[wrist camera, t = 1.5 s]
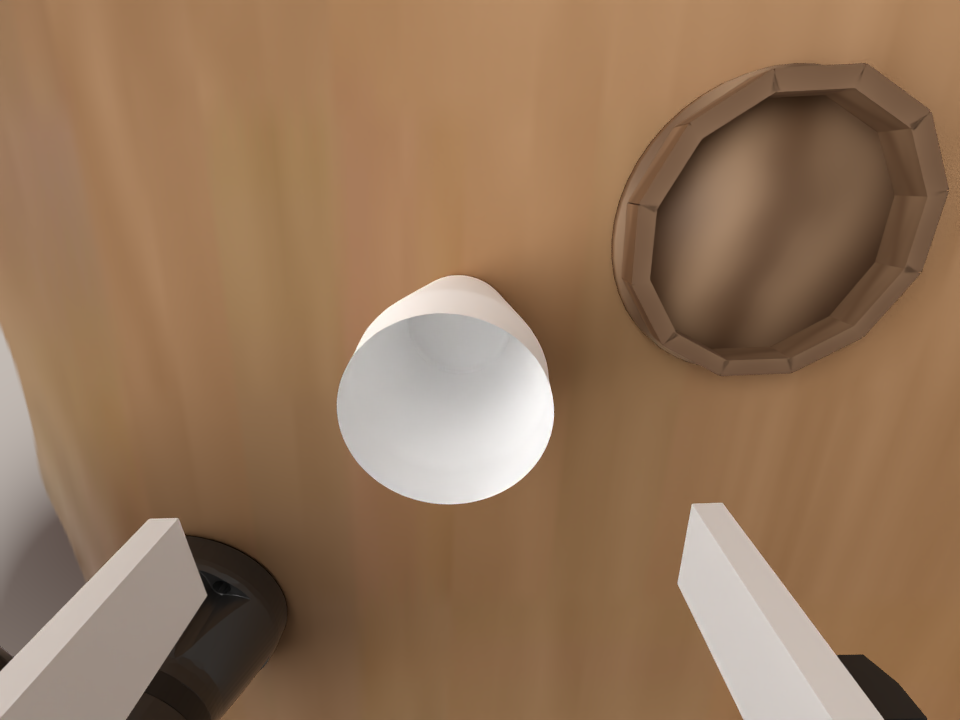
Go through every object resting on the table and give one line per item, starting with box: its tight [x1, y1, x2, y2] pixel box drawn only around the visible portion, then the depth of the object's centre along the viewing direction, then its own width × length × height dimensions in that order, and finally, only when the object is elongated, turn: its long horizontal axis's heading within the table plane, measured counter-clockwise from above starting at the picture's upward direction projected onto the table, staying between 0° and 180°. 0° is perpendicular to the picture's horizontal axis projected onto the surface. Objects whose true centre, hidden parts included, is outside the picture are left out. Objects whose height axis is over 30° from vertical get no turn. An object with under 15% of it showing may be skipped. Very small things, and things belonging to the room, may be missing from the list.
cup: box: [337, 275, 554, 504], centre depth 23 cm, size 9×9×12 cm
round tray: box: [612, 63, 949, 376], centre depth 25 cm, size 17×17×3 cm
